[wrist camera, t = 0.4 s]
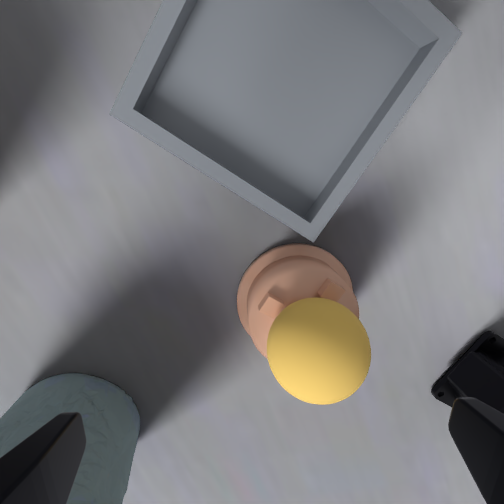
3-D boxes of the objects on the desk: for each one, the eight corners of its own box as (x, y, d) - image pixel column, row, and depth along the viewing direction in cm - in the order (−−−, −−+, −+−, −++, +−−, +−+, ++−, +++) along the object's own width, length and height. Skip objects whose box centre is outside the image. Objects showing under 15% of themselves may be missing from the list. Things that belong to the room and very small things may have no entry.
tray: (433, 47, 16) (462, 32, 14) (304, 233, 19) (313, 242, 17) (243, -129, 14) (246, -177, 12) (123, 118, 16) (109, 114, 14)
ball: (364, 307, 18) (415, 365, 13) (313, 370, 19) (343, 445, 14) (294, 265, 16) (321, 312, 12) (244, 335, 18) (251, 404, 13)
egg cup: (372, 279, 20) (401, 305, 17) (306, 362, 22) (321, 401, 19) (278, 220, 19) (290, 236, 15) (215, 316, 20) (213, 349, 17)
